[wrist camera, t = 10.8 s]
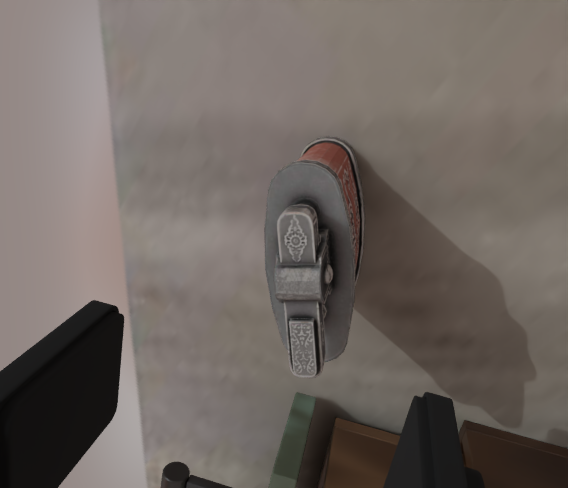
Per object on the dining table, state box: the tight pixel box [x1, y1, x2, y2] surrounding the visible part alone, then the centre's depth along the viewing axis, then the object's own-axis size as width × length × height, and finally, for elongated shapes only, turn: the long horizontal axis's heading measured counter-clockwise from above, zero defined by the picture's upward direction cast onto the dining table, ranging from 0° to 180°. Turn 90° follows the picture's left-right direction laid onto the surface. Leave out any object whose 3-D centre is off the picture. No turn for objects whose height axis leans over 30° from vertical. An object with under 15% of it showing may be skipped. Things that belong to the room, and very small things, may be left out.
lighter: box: [264, 136, 365, 378], centre depth 21 cm, size 8×3×10 cm, turn 5°
